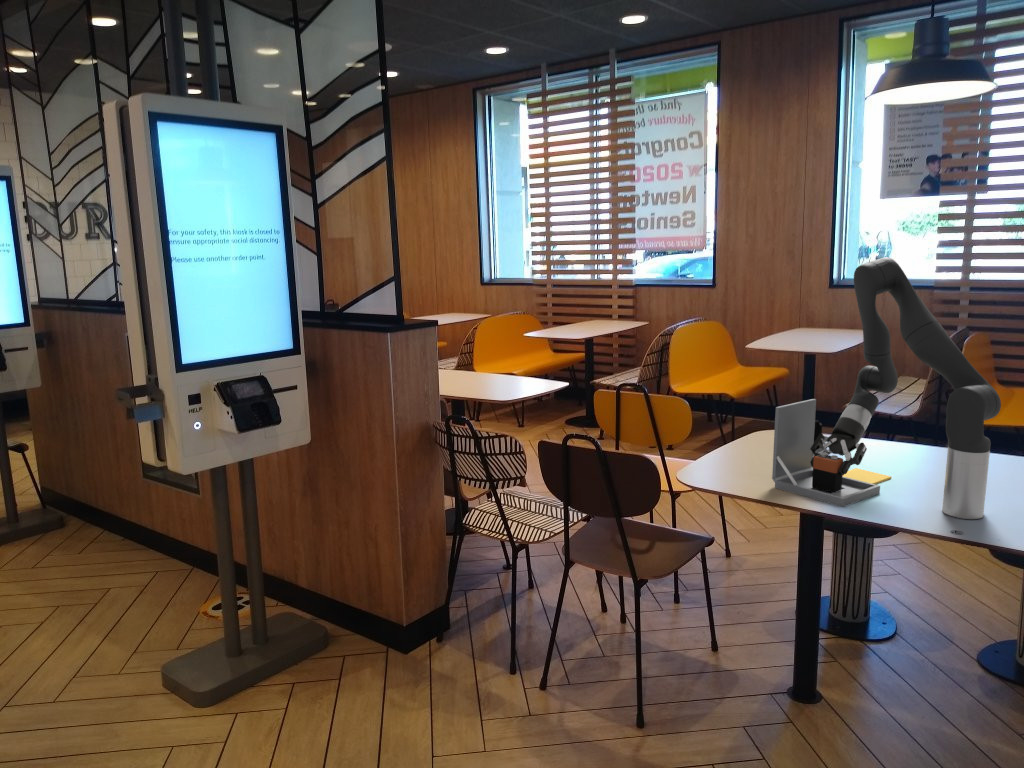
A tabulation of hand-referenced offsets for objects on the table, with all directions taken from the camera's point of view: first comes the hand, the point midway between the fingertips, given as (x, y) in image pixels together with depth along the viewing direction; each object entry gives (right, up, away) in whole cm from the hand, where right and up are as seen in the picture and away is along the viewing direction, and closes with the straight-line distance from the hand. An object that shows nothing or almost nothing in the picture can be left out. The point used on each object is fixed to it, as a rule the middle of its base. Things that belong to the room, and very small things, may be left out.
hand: (826, 470), depth 222 cm
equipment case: (0, -6, +1) cm, 6 cm away
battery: (0, -6, +1) cm, 6 cm away
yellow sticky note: (+16, -4, +12) cm, 20 cm away
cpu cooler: (+11, +2, +45) cm, 47 cm away
